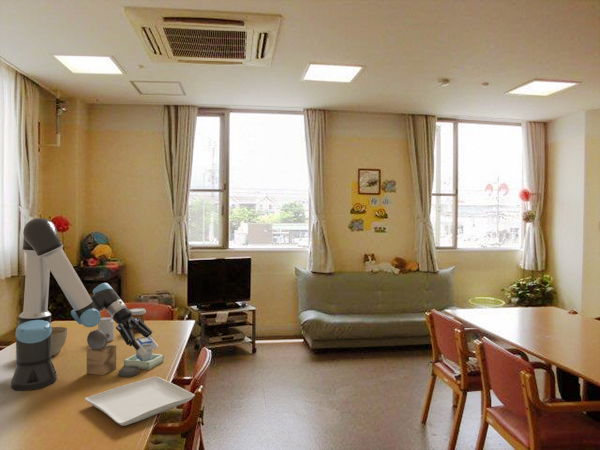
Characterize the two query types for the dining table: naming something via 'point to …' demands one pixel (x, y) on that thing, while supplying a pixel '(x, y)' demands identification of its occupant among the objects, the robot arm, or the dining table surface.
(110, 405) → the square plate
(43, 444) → the dining table surface
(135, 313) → the disposable coffee cup
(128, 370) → the dark grey round puck
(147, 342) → the medicine box
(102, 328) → the can
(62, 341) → the planter bowl
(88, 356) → the pulley stand
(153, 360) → the tray
